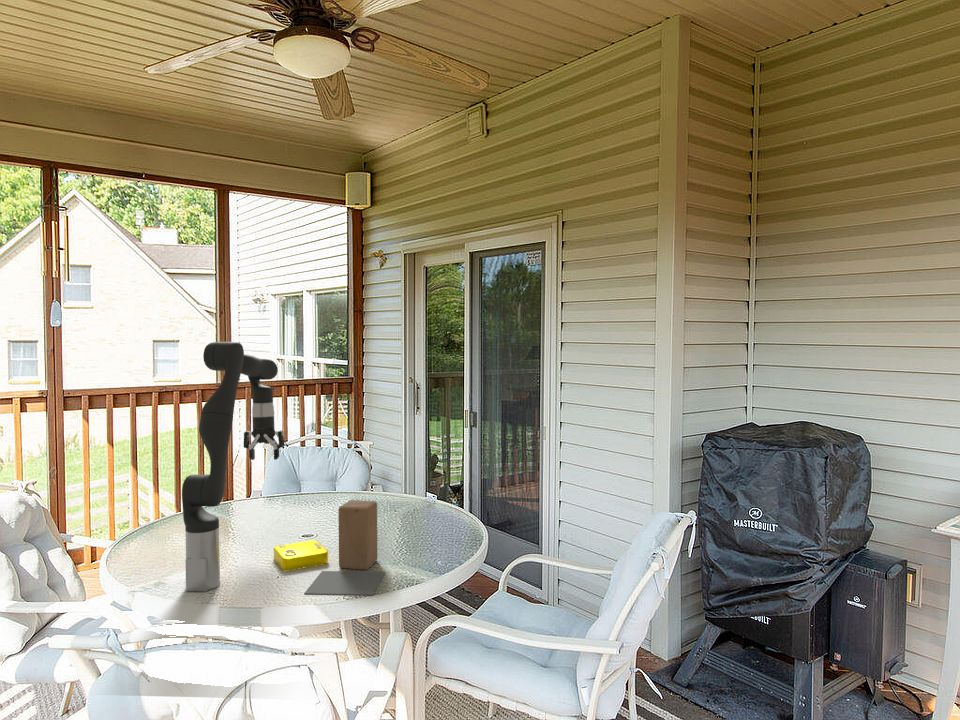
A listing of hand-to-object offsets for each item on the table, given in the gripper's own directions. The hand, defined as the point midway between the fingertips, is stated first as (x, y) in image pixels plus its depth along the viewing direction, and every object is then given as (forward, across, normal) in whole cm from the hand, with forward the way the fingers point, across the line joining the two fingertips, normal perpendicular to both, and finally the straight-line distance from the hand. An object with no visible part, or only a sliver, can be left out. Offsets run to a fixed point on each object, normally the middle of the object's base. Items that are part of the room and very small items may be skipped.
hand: (264, 459), depth 240 cm
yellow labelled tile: (+31, +19, -22) cm, 42 cm away
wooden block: (+31, +39, -25) cm, 56 cm away
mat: (+31, +39, -41) cm, 65 cm away
